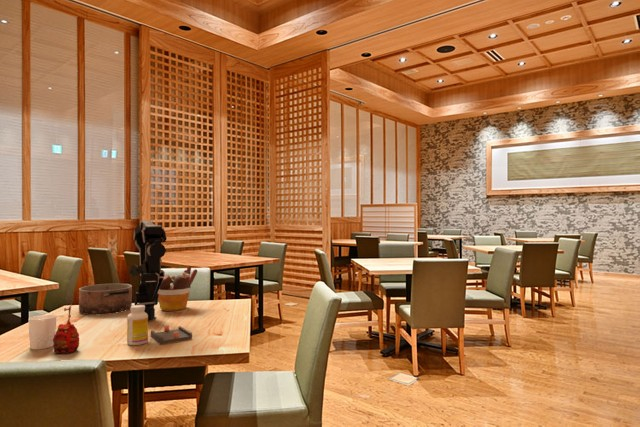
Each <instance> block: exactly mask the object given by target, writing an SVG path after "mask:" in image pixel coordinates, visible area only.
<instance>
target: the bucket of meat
mask: <svg viewBox="0 0 640 427" xmlns="http://www.w3.org/2000/svg"><path fill="white" fill-rule="evenodd" d="M197 273H198V269H196V268H195V269H193V270H192V266H191V265H188V266H187V267H186V269H184V271H183V272H182V275H181V274H177V276H175V275H171V276H170V275H169V274H165V276H164V277H162V276H160V278H164V279H163V281H162V284H161V286H160V288H159V291H158V294H159V296H158V304H159V309H161V311H164V312H176V311H177V312H178V311H182V310H185V309H186V307H187V306H188V301H189V298H190V292H191V285H192V284H193V282H194V279H195V278H196V276H197Z"/></svg>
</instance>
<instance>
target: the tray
mask: <svg viewBox="0 0 640 427" xmlns="http://www.w3.org/2000/svg"><path fill="white" fill-rule="evenodd" d="M177 327H178V329H171V330H170V325H165V326H164V330H163V331H158V332H156V331H155V330H152V329H151V330H150V338H151V339H153V340H154V341H156V342H157V343H158V344H160V345H166V344H172V343H178V341H179V342H184V341H189V340H192V339H193V333H192V332H191V331H189V330H187V329H186V328H185V327H182V326H181V325H180V326H177Z"/></svg>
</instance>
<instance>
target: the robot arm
mask: <svg viewBox="0 0 640 427" xmlns="http://www.w3.org/2000/svg"><path fill="white" fill-rule="evenodd" d="M133 241H134V243H135V245H134V246H135V247H136V248H137V250H138V251H139V265H137V264H134V265H131V266H130V268H129V269H128V273H129V275H130V277H131V278H134V277H136V276H139V282H140V284H139V285H138V288H137V289H136V292H135V295H134V303H133V304H134V305H145V310H144V312H145V313H147V314H148V322H149V321H153V320H155V319H157V317H156V316H155V315H156V314H155V313H156V312H155V311H156V309H155V306H158V304H159V300H158V296H159V294H158V291H159V288H160V286H161V284H162V281H163V279H164V278H160V276H162V277H164V276H165V275H166V274H165V271H164V270H163V269H162V262H163V259H162V258H163V257H164V256H165V254H166V251H167V250H166V247H165V245H164V244H162V243H166V242H167V233H166V231H165V228H163V226H162V225H155V224H154V221H152V220H141V221H139V224H138V225H137V226H135V228H134V229H133Z"/></svg>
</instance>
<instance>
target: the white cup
mask: <svg viewBox="0 0 640 427" xmlns="http://www.w3.org/2000/svg"><path fill="white" fill-rule="evenodd" d="M56 331H57V314H50V313H49V314H38V315H33V316H30V317H28V336H29V337H28V338H29V348H30V350H34V351H35V350H38V351H39V350H45V349H49V348H52V347H53V345H54V342H53V338H54V335H55V334H56Z"/></svg>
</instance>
